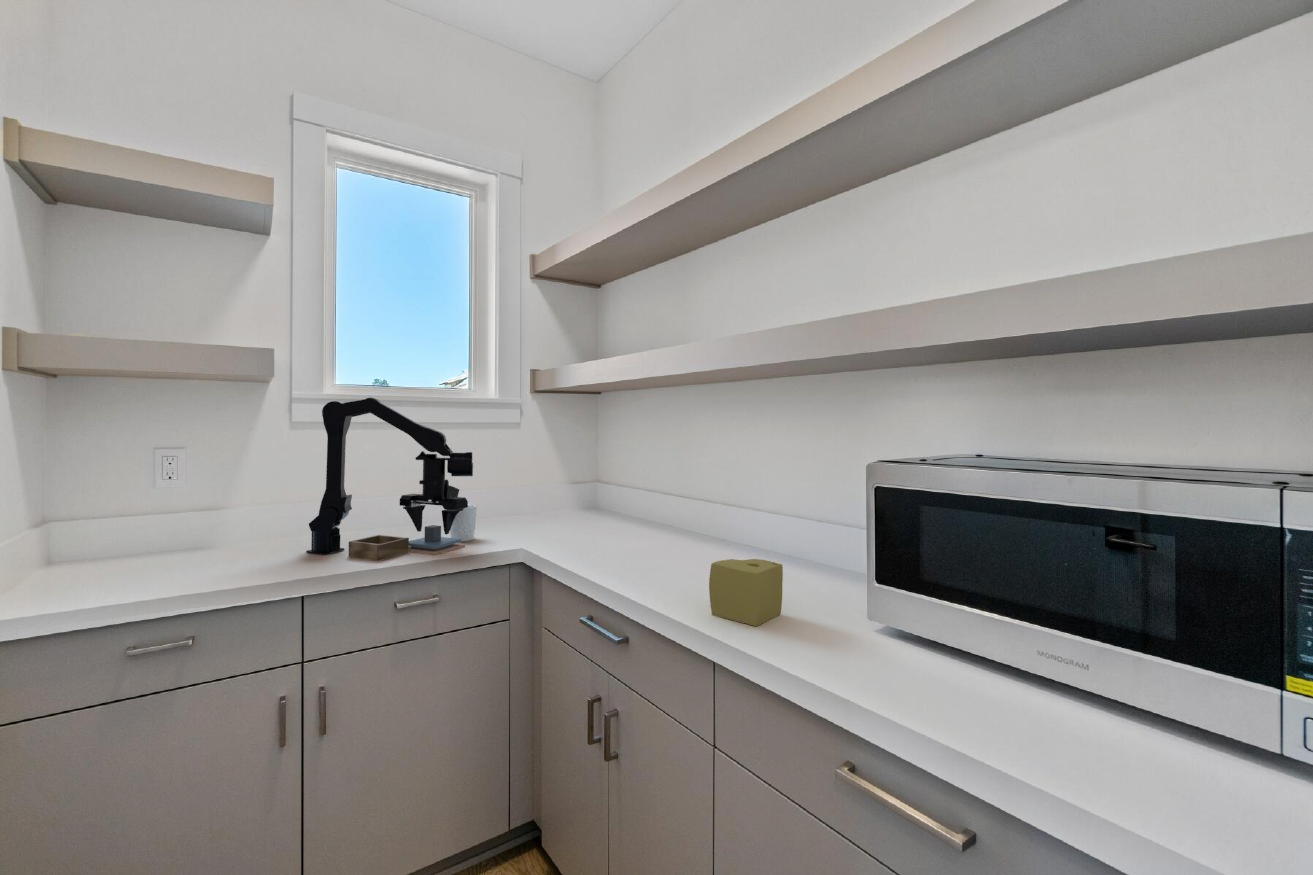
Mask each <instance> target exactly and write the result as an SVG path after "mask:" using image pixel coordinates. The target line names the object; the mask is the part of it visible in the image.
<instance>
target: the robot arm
mask: <svg viewBox="0 0 1313 875" xmlns="http://www.w3.org/2000/svg"><path fill="white" fill-rule="evenodd" d="M367 414H371V415H374V416H375V417H377V418H378V419H380V420H383V422H386V423H388V424H389V425H391V426H393V427H394V428H396V429H398V430H400V431H402V432H403V433H405V434H406V435H408V436H410V437H411V438H412V439H413V440H414V441H415V442H416V443H417V444H418V445H419V446H420V447H422V448H423V449H424V450H426V451H428V452H430V453H426V452H425V451H424V450H421V451H420V453H419V455H417V456H415V460H416V461H422V479H419V485H422V493H408V494H401V496H400V498H399V506H402V509H404V510H405V511H406V513H407V514H408V516H409V518H410V519H411V522H412V523H413V525H414V527H415V529H416V531H417V532H418V533H419V532H422V528H423V511H424V510H425V508H426V505H430V506H431V505H432V506H442V508H443V509H442V510H441V518H442V525H443V527H442V528H443V532H444V535H450V529H451V526H452V524H453V521H454V519H455V517H456V515H457V514H458V513H459V512H460V511H463V509H464V508H468V504H469V501H468V500H467V498H466V497H462V496H459V493H460V489H459V488H457V487H455V486H453V485H450V484H449V479H446V472H447V473H448V474H450V476H451V477H473V475H474V463H473V452H472V451H467V452H454V451H452V448H450V446H449V445H448V444H447V438H446V435H445V433H443V432H441V431H440V430H437V429H434V428H432V427H428V426H426V425H423V424H420V423H418V422H415V421H414V420H413V419H410V418H409V417H407V416H405V415H403V414H402V413H400V412H398V411H396V410H395V409H393V408H391V407H390V406H388V405H386V404H384V403H383V402H381V401H380V400H379V399H378V398H375V397H367V398H365V399H360V400H353V401H348V402H347V401H346V402H344V401H343V402H342V401H338V400H335V401H334V400H333V401H329V402H327V403H325V405H324V406H323V408H322V409H321V416H322V421H323V425H324V429H325V431H326V435H327V444H326V446H327V447H326V448H327V449H326V451H327V452H326V471H325V472H326V476H325V479H326V480H325V490H324V493H323V496H322V499H321V502H320V505H319V506H320V507H319V509H318V510H319V511H318V515H317V516H316V517H314V519H313V520H311V521H310V522H309V523H308V527H309V529H310V532H311V549H308V550H306V551H305V553H306V554H313V555H314V554H315V555H322V556H323V555H325V556H326V555H329V554H333V553H334V554H335V553H337V552H342V551H345V548H344V547H341V533H340V532H341V530H340V528H339V526H340V524H341V523H342V521H343V520H344V519H346V517H348V516H349V513H350V511H351V510H353V507H352V503H351V502H352V498H353V494H347V493H346V489H345V471H346V470H345V469H346V444H347V441H346V440H347V439H346V438H347V434H348V431H349V429H350V426H351V422H352V421H351V420H352V418H353V417H355V418H356V417H360V416H362V415H363V416H364V415H367ZM437 453H438V454H437ZM438 455H440V456H442V457H438ZM446 461H447V464H446ZM446 465H447V467H446ZM446 468H447V471H446Z"/></svg>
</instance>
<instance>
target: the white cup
mask: <svg viewBox="0 0 1313 875" xmlns="http://www.w3.org/2000/svg"><path fill="white" fill-rule="evenodd" d="M477 507H478V506H477V505H475V504H469V503H468V508H464V509H463V511H460V512H459V513H458V514H457V515H456V517H455V519H454V521H453V524H452V526H451V529H450V531H449V535H450V536H449V538H456V539H461V542H469V541H473V540H474V539H475V530H476V522H477Z"/></svg>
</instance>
